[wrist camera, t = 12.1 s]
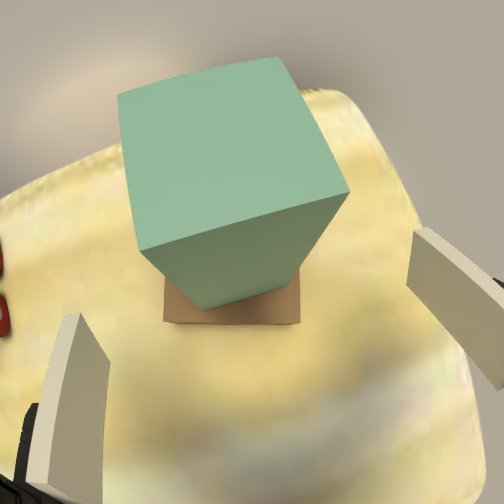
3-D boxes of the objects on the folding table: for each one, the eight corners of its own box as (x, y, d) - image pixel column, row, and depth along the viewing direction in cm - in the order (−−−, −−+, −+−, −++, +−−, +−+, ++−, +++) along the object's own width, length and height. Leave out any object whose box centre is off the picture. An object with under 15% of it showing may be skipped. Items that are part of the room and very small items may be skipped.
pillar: (203, 310, 18) (139, 251, 7) (181, 231, 20) (117, 94, 8) (286, 285, 19) (350, 191, 7) (259, 209, 20) (278, 56, 9)
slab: (175, 323, 22) (163, 321, 18) (180, 215, 24) (171, 193, 20) (289, 324, 23) (300, 323, 19) (286, 216, 24) (296, 195, 21)
